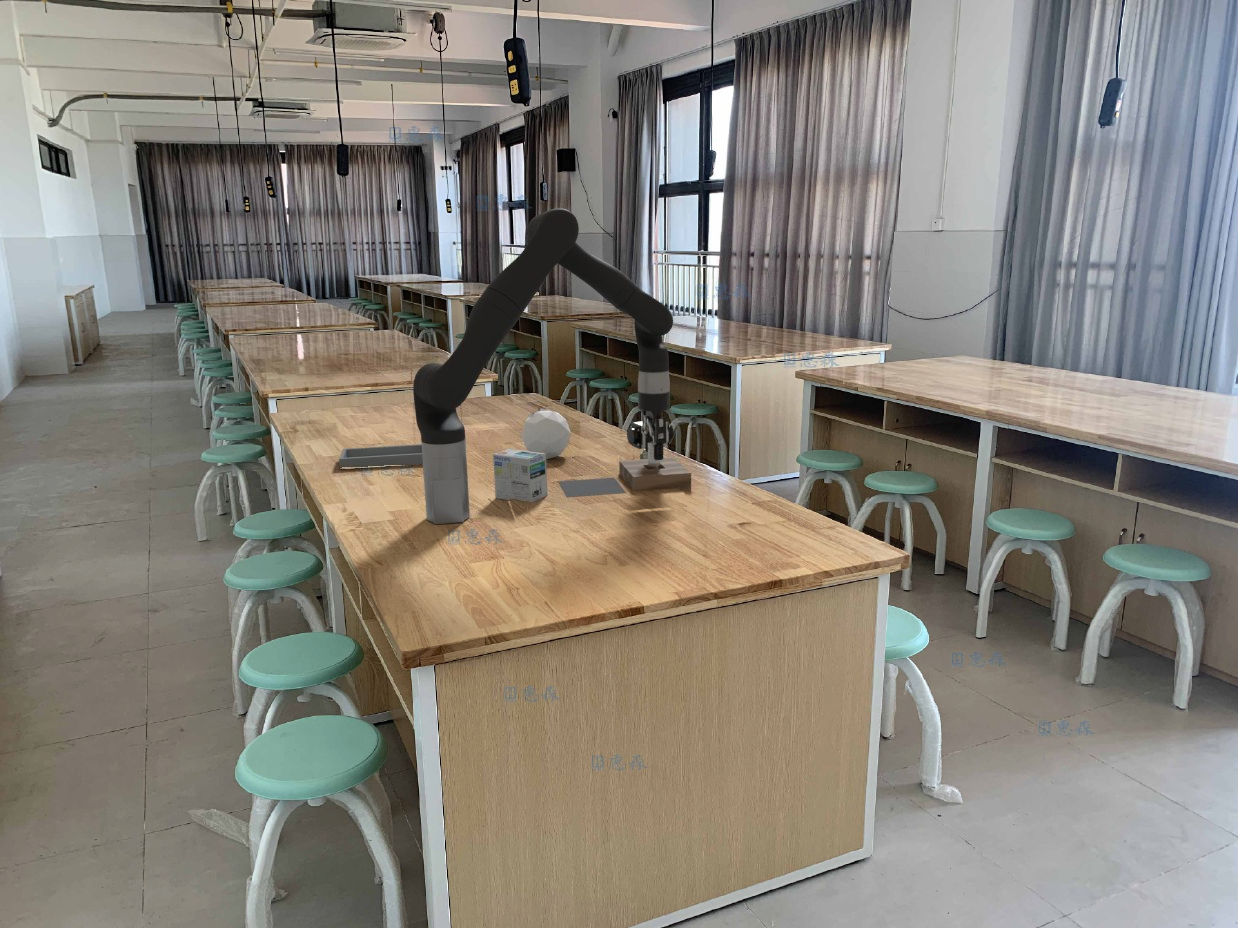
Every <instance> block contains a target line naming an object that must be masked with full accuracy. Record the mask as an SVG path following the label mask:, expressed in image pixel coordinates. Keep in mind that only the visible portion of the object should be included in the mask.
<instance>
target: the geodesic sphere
mask: <svg viewBox="0 0 1238 928" xmlns="http://www.w3.org/2000/svg"><path fill="white" fill-rule="evenodd" d="M571 434H572V433H571V429H570V425H569V424H568V421H567V419H566V418H565V417H564V416H562V415H561V414H560V413H559V412H557V411H553V410H552V409H548V408H543V407H540V410H539V411H534V412H532V411H531V412H530V414H529V415H528V418H527V419H526V420H525V421H524V425H523V427H522V430H521V433H520V438H521V439H522V442H523V445H524V447H525V450H526V451H530V452H539V453H546V460H549V459H552V458H556V457H558V456H561V455H562V453H563V452H564V451H565V449H566V448H567V446H568V445H569V441H570V438H571Z"/></svg>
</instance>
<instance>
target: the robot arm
mask: <svg viewBox="0 0 1238 928" xmlns="http://www.w3.org/2000/svg"><path fill="white" fill-rule="evenodd" d="M579 231H580V227H579V222H578V219H577V216H576V215H575V214H574V213H573V212H571V211H569V210H568V209H565V208H559V207H557V208H553V209H552V208H551V209H548V210H546V211H544V212H541V213H540V214H537V215H535V216H534V217H533V218H532V219H531V220H530V221H529V222H528V225H527V229H526V236H527V237H526V238H527V240H528V242H527V245H526V246H525V247H524V249H523V250H522V251H521V252H520V254H519V255H518V256H517V257H516V258H515V259H514V260H513V261H512V262H510V263H509V265H507V266H506V267H505V268H504V269H503V270H502V271H501V272H500V273H498V275H496V277H494V279H493V280H491V282H490V283H489V284H488V286H487V287H486V288H485V290H484V291H483V292H482V293H481V295H480V296H479V298H478V299H477V300H476V302H475V303H474V305H473V307H472V309H471V311H470V313H469V316H468V320H467V324H466V328H465V331H464V334H463V337H462V339H461V341H460V342H459V344H458V346H457V348H455V350H454V351H453V352H452V354H451V355H450V356H449V358H448V359H446V361H445V362H444V363H440V362H430V363H426V364H424V365H423V366H421V367H420V368H419V369H418V370H417V372H416V374H415V376H414V379H413V387H412V389H413V391H412V392H413V402H414V413H415V420H416V426H417V429H418V431H419V433H420V441H421V443H420V444H422V459H423V465H422V473H423V484H424V485H423V486H424V501H425V510H426V511H425V512H426V515H425V516H426V520H427V521H428V522H430V523H433V524H434V525H440V524H441V525H442V524H443V525H444V524H454V523H455V524H456V523H464V521H465V520H467V519H469V518H470V517H471V512H470V495H469V479H468V478H469V477H468V460H467V443H466V441H467V440H466V439H467V438H466V428H465V425H464V424H463V422H462V421H461V420H460V418H459V416H458V412H457V408H459V407H460V406H461V405H462V404H463V403H464V402H465V401H466V399H467V398H468V397H469V394H470V393H471V392H472V390H473V388H474V387H475V384H476V382H477V381H478V379H479V377H480V375H481V374H482V372H483V371H484V368H485V367H486V366H487V364H488V362H489V361H490V359H491V357H492V356H493V355H494V354H495V352H496V351H497V349H498V348H499V346H500V345H501V343H503V341H504V339H505V338H506V337H507V335H508V334H509V333H510V331H511V330H512V329H513V328H514V326H515V325H516V323H517V322H518V321H519V319H520V318H521V317H522V315H523V313H524V312H525V310H526V309H527V307H528V306H529V305H530V303H531V301H532V300H533V298H534V297H535V295H536V294H537V293H538V290H539V289H540V287H541V286H542V285H543V283H544V281H545V279H546V278H547V276H549V274H550V273H551V272H552V270H553V269H554V268H555V267H556V266H557V265H559V266H561V267H563V268H564V269H565V270H567V271H568V272H570V273H571V274H572V275H574V276H576V277H577V278H579V280H581V281H583V282H584V283H586V285H588V286H589V287H590V288H591V289H593V290H595V292H597V293H598V295H600V296H601V297H603V298H604V300H606V301H607V302H608V303H609V304H611V305H612V306H613V307H614V308H615V309H617V310H618V311H620V312H621V313H622V314H625V315H628V316H630V317H631V318H632V319H633V320H634V323H633V324H634V334H635V339H636V345H637V348H638V376H637V377H638V379H637V402H638V404H637V407H638V409H639V410H640V411H641V412H642V419H641V422H642V432H643V433H644V436H645V448H644V450H645V451H646V452H648V442H652V441H653V444H654V459H655V460H663V458H664V446H663V444H664V443H666V442H667V439H666V421H667V418H666V417H663V413H662V412H664V411H667V410H669V409H670V408H671V405H670V403H671V400H670V398H671V395H670V394H671V393H670V387H671V383H670V373H669V371H670V370H669V367H670V362H669V360H670V359H669V357H670V356H669V350H668V348H667V346H665V344H664V340H663V336H665V335H667V334H668V333H669V332H671V330H672V329H673V326H674V317H673V315H672V313H671V310H669V308H668V307H667V306H666V305H665V304H663V303H662V302H660V301H659V300H658V299H656V298H654V297H653V296H651V295H650V294H649V293H647V292H645V291H644V290H642V289H641V288H640V287H639V286H638V285H637V284H636V282H634V281H633V280H632V279H631V278H629V277H628V276H627V275H626V274H625V273H623V272H622V271H621V270H619V269H618V268H617V267H615V266H613V265H611V264H610V263H608V262H606V261H605V260H603V259H602V258H601V259H600V258H599V257H597V256H595V255H593V254H592V253H590V252H589V251H588V250H586V249H584V248H583V247H582V246H581V245H580V244H579V243H578V242H577V240H578V238H579ZM658 436H660V437H661V439H658Z"/></svg>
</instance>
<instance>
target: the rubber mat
mask: <svg viewBox="0 0 1238 928" xmlns="http://www.w3.org/2000/svg"><path fill="white" fill-rule="evenodd" d="M557 482H558V484H559V487H560V488H561V489H562V491H563V493H564V494H565V495H564V496H565V497H566V498H575V497H590V496H602V495H616V494H617V495H619V494H626V493H627V491H626V490H625V489H624V488H623V486H621V485H620V483H619V482H618V480H617V479H616V478H615V477H602V478H587V479H573V480H559V481H557Z"/></svg>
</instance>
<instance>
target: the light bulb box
mask: <svg viewBox="0 0 1238 928" xmlns="http://www.w3.org/2000/svg"><path fill="white" fill-rule="evenodd" d="M493 475H494V491H495V492H494V493H495V499H499V500H504V501H510V500H518V501H522V502H528V503H533V502H535V501H538V500H541V499H542V498H545V497H547V496H548V495H549V494H548V491H549V490H548V472H547V459H546V453H539V452H530V451H528V450H521V449H513V448H508V449H506V450H501V451H498V452H495V453H493Z"/></svg>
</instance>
